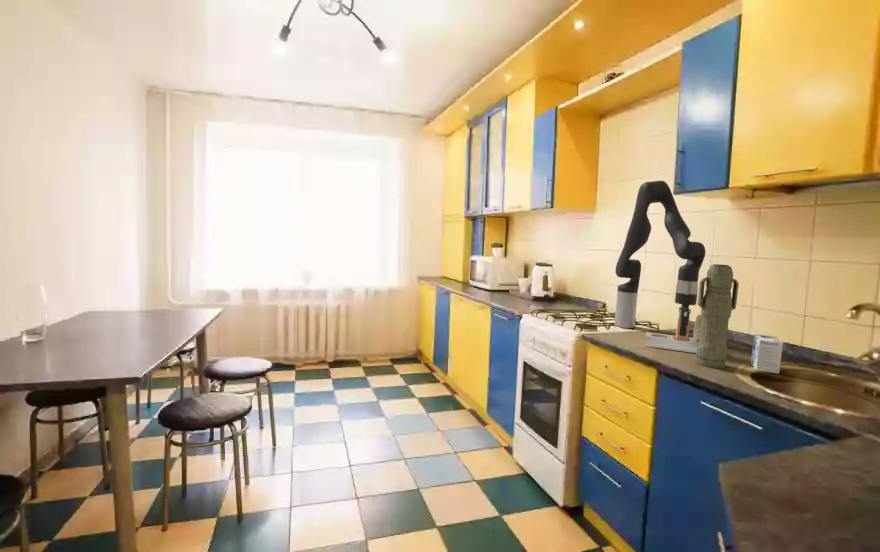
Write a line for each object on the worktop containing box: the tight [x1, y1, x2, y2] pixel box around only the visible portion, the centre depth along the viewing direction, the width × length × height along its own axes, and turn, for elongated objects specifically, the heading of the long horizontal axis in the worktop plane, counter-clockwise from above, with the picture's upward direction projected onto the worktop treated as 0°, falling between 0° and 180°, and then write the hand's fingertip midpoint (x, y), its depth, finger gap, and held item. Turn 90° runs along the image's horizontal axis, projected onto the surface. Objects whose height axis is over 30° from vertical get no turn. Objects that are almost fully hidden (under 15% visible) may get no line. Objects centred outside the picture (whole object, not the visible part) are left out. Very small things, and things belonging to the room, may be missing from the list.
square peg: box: [675, 317, 690, 341], centre depth 176 cm, size 4×4×10 cm
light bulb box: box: [750, 334, 784, 374], centre depth 153 cm, size 11×7×11 cm, turn 154°
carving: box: [692, 314, 702, 339], centre depth 188 cm, size 6×8×12 cm
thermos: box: [695, 263, 739, 369], centre depth 153 cm, size 9×12×35 cm
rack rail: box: [644, 331, 700, 354], centre depth 176 cm, size 10×26×4 cm, turn 64°
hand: (682, 334), depth 176 cm, fingers open, 4 cm apart
